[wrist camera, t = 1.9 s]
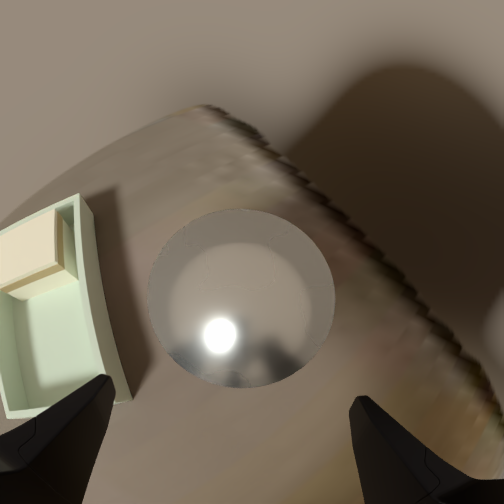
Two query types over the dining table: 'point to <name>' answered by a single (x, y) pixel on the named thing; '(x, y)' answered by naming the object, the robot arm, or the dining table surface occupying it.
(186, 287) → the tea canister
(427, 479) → the robot arm
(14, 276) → the butter box
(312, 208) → the dining table surface
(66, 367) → the tote
